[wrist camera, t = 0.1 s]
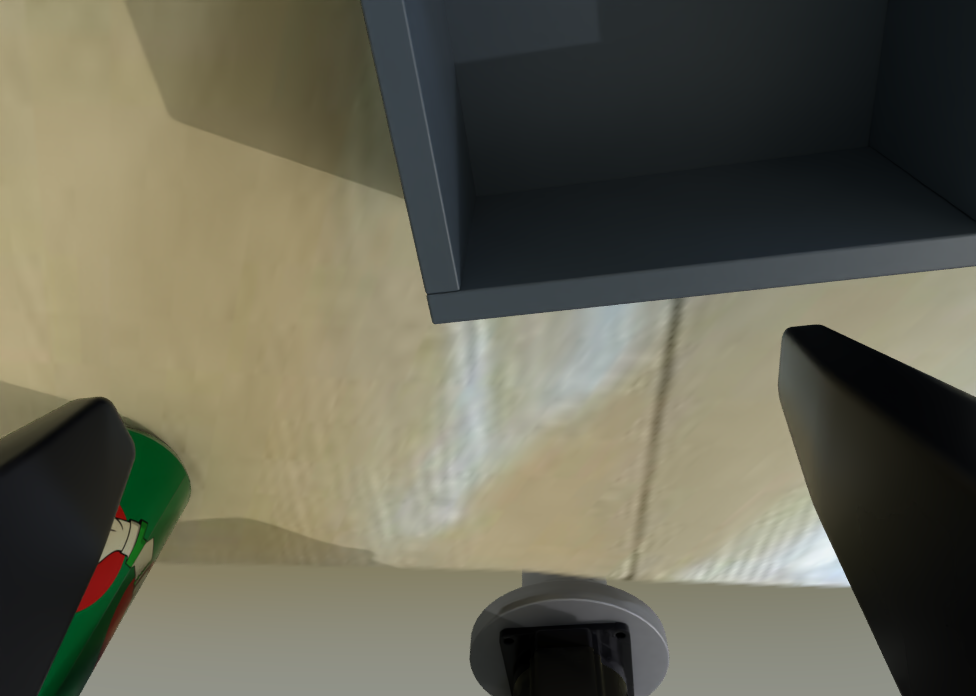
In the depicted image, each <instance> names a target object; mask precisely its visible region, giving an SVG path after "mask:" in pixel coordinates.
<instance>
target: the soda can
mask: <svg viewBox="0 0 976 696" xmlns="http://www.w3.org/2000/svg"><path fill="white" fill-rule="evenodd" d="M126 428H127V430H128V432H129V434H130V436H131V437H132V439H133V442H134V445H135V460H134V463H133V466H132V469H131V472H130V475H129V478H128V481H127V484H126V487H125V489H124V492H123V495H122V498H121V501H120V504H119V507H118V510H117V513H116V516H115V519H114V522H113V525H112V528H111V531H110V534H109V536H108V539H107V542H106V545H105V547H104V550H103V553H102V555H101V558H100V560H99V562H98V565H97V567H96V569H95V572H94V574H93V576H92V578H91V580H90V583H89V585H88V587H87V589H86V591H85V594H84V596H83V598H82V600H81V602H80V604H79V607H78V609H77V611H76V613H75V615H74V618H73V620H72V622H71V624H70V626H69V628H68V631H67V633H66V635H65V637H64V639H63V642H62V644H61V646H60V648H59V650H58V652H57V655H56V657H55V659H54V661H53V663H52V666H51V668H50V670H49V672H48V674H47V677H46V679H45V681H44V683H43V685H42V687H41V690H40V692H39V694H38V696H79V695H80V693H81V692H82V690H83V688H84V686H85V684H86V683H87V681H88V679H89V677H90V676H91V674H92V672H93V670H94V669H95V667H96V665H97V663H98V661H99V660H100V658H101V656H102V654H103V653H104V651H105V649H106V647H107V645H108V644H109V642H110V640H111V638H112V637H113V635H114V633H115V631H116V630H117V628H118V626H119V624H120V622H121V621H122V619H123V617H124V615H125V613H126V612H127V610H128V608H129V606H130V605H131V603H132V601H133V599H134V597H135V596H136V594H137V592H138V590H139V589H140V587H141V585H142V583H143V582H144V580H145V578H146V576H147V574H148V573H149V571H150V569H151V567H152V566H153V564H154V562H155V560H156V559H157V557H158V555H159V553H160V551H161V550H162V548H163V546H164V544H165V543H166V541H167V539H168V537H169V535H170V534H171V532H172V530H173V528H174V527H175V525H176V523H177V521H178V520H179V518H180V516H181V514H182V512H183V511H184V509H185V507H186V505H187V504H188V502H189V498H190V494H191V486H190V480H189V477H188V474H187V472H186V469H185V467H184V465H183V464H182V462H181V460H180V459H179V457H178V456H177V455H176V453H175V452H174V451H173V450H172V449H171V448H170V447H169V446H167V445H166V444H165V443H164V442H162V441H161V440H159V439H158V438H156V437H154V436H152V435H150V434H148V433H146V432H143V431H140V430H137V429H133V428H129V427H126Z"/></svg>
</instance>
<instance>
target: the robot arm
mask: <svg viewBox="0 0 976 696" xmlns="http://www.w3.org/2000/svg"><path fill="white" fill-rule="evenodd" d="M778 392H779V398H780V402H781V406H782V409H783V412H784V415H785V418H786V421H787V424H788V428H789V431H790V434H791V437H792V440H793V443H794V447H795V450H796V453H797V456H798V459H799V462H800V465H801V469H802V472H803V475H804V478H805V481H806V484H807V487H808V490H809V493H810V496H811V499H812V502H813V505H814V507H815V509H816V512H817V514H818V516H819V519H820V521H821V523H822V525H823V527H824V529H825V532H826V534H827V536H828V538H829V540H830V542H831V545H832V547H833V549H834V551H835V553H836V555H837V557H838V560H839V562H840V564H841V566H842V568H843V570H844V573H845V575H846V577H847V579H848V581H849V583H850V585H851V588H852V590H853V592H854V594H855V596H856V598H857V600H858V603H859V605H860V607H861V609H862V611H863V613H864V615H865V618H866V620H867V622H868V624H869V626H870V628H871V631H872V633H873V635H874V637H875V639H876V641H877V644H878V646H879V648H880V650H881V652H882V654H883V656H884V659H885V661H886V663H887V665H888V667H889V669H890V671H891V674H892V676H893V678H894V680H895V682H896V684H897V687H898V689H899V691H900V693H901V695H902V696H976V397H974V396H972V395H970V394H968V393H966V392H964V391H962V390H959V389H957V388H955V387H953V386H951V385H949V384H947V383H945V382H942V381H940V380H938V379H936V378H934V377H932V376H930V375H927V374H925V373H923V372H921V371H919V370H917V369H915V368H912V367H910V366H908V365H906V364H904V363H902V362H900V361H898V360H895V359H893V358H891V357H889V356H887V355H885V354H883V353H880V352H878V351H876V350H874V349H872V348H870V347H868V346H866V345H863V344H861V343H859V342H857V341H855V340H853V339H851V338H848V337H846V336H844V335H842V334H840V333H838V332H836V331H833V330H831V329H829V328H827V327H825V326H822V325H806V326H797V327H790V328H788V329H786V330H785V332H784V334H783V336H782V342H781V354H780V365H779V377H778ZM134 460H135V445H134V442H133V439H132V437H131V436H130V434H129V432H128V430H127V428H126V426H125V425H124V423H123V421H122V419H121V417H120V415H119V414H118V412H117V410H116V408H115V406H114V405H113V403H112V402H111V401H110V400H108V399H107V398H104V397H93V398H83V399H76V400H73V401H71V402H69V403H67V404H65V405H63V406H61V407H60V408H58V409H56V410H54V411H52V412H50V413H48V414H46V415H44V416H43V417H41V418H39V419H37V420H35V421H33V422H31V423H29V424H28V425H26V426H24V427H22V428H20V429H18V430H16V431H14V432H13V433H11V434H9V435H7V436H5V437H3V438H1V439H0V696H38V694H39V692H40V690H41V687H42V685H43V683H44V681H45V679H46V677H47V674H48V672H49V670H50V668H51V666H52V663H53V661H54V659H55V657H56V655H57V652H58V650H59V648H60V646H61V644H62V642H63V639H64V637H65V635H66V633H67V631H68V628H69V626H70V624H71V622H72V620H73V618H74V615H75V613H76V611H77V609H78V607H79V604H80V602H81V600H82V598H83V596H84V594H85V591H86V589H87V587H88V585H89V583H90V580H91V578H92V576H93V574H94V572H95V569H96V567H97V565H98V562H99V560H100V558H101V555H102V553H103V550H104V547H105V545H106V542H107V539H108V536H109V534H110V531H111V528H112V525H113V522H114V519H115V516H116V513H117V510H118V507H119V504H120V501H121V498H122V495H123V492H124V489H125V487H126V484H127V481H128V478H129V475H130V472H131V469H132V466H133V463H134ZM499 643H500V647H501V652H502V656H503V660H504V665H505V669H506V674H507V678H508V682H509V687H510V691H511V695H512V696H634V682H633V667H632V652H631V637H630V629H629V626H628V625H627V624H626V623H623V622H611V623H593V624H574V625H555V626H537V627H518V628H505V629H503V630H501V631H500V635H499Z"/></svg>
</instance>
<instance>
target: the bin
mask: <svg viewBox="0 0 976 696" xmlns="http://www.w3.org/2000/svg"><path fill="white" fill-rule="evenodd" d="M360 1H361V6H362V10H363V15H364V19H365V24H366V28H367V33H368V37H369V41H370V46H371V50H372V55H373V59H374V64H375V68H376V73H377V77H378V82H379V86H380V91H381V95H382V100H383V104H384V109H385V113H386V118H387V122H388V127H389V131H390V135H391V140H392V144H393V149H394V153H395V158H396V162H397V167H398V171H399V176H400V180H401V185H402V189H403V194H404V198H405V203H406V207H407V212H408V216H409V221H410V225H411V229H412V234H413V238H414V243H415V247H416V252H417V256H418V261H419V265H420V270H421V274H422V279H423V283H424V288H425V292H426V293H427V301H428V305H429V310H430V314H431V319H432V322H433V324H441V323H450V322H460V321H469V320H478V319H487V318H497V317H506V316H515V315H525V314H534V313H543V312H553V311H562V310H571V309H581V308H590V307H599V306H609V305H618V304H627V303H636V302H646V301H655V300H664V299H674V298H683V297H692V296H702V295H711V294H720V293H730V292H739V291H748V290H757V289H767V288H776V287H785V286H795V285H804V284H813V283H823V282H832V281H841V280H851V279H860V278H869V277H878V276H888V275H897V274H906V273H916V272H925V271H934V270H944V269H953V268H962V267H972V266H976V0H360Z"/></svg>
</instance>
